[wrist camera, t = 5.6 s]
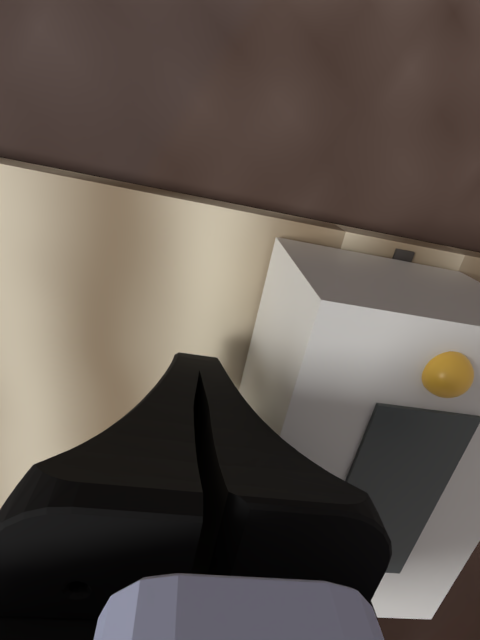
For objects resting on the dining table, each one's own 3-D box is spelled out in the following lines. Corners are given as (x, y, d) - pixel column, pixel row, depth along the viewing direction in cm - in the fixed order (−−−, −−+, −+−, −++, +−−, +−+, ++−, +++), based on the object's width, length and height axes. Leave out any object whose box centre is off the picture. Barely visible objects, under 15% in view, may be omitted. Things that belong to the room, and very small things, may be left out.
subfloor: (-58, 673, 21) (-73, 704, 20) (-132, 131, 11) (-170, 131, 10) (294, 677, 24) (298, 705, 23) (483, 253, 14) (509, 264, 13)
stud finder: (219, 471, 16) (227, 632, 11) (275, 236, 12) (328, 310, 7) (367, 485, 16) (440, 638, 11) (459, 271, 13) (621, 358, 8)
